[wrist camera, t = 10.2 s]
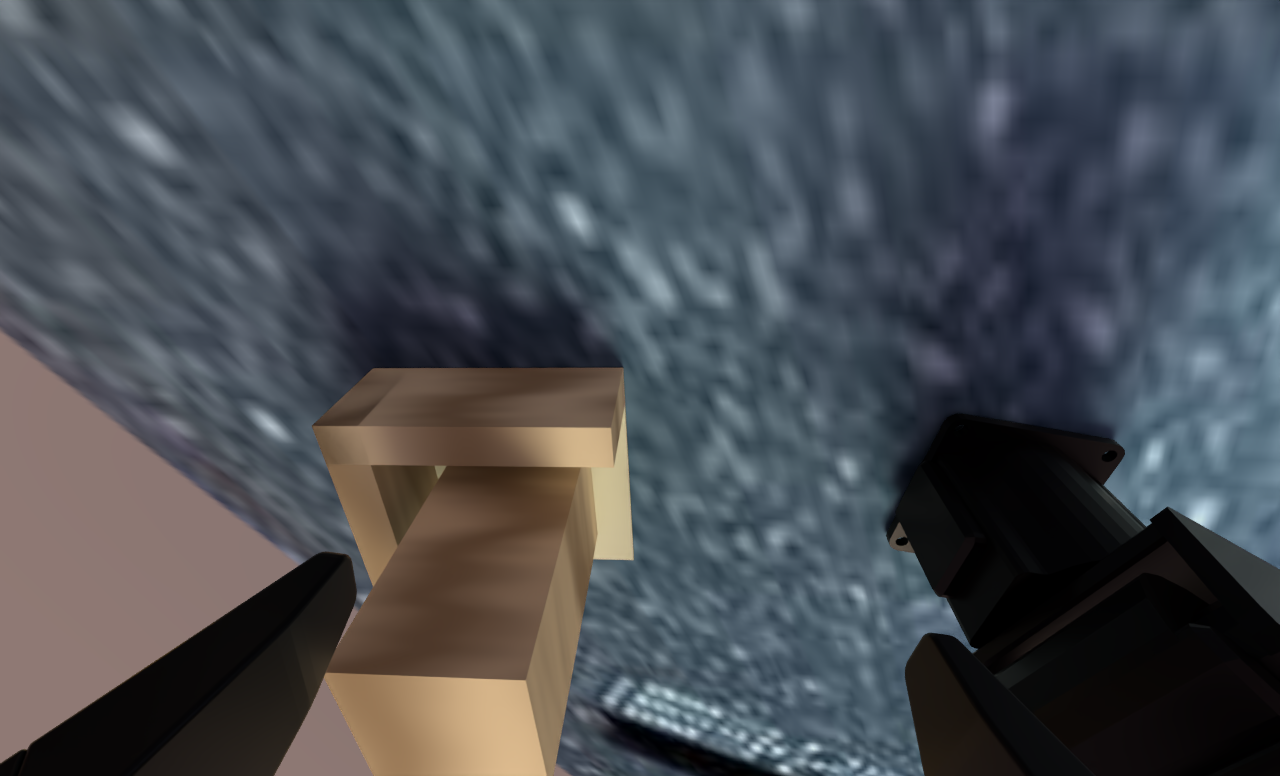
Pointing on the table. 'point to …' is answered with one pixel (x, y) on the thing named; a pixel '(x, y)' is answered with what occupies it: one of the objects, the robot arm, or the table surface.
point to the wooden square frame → (473, 442)
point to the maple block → (473, 627)
